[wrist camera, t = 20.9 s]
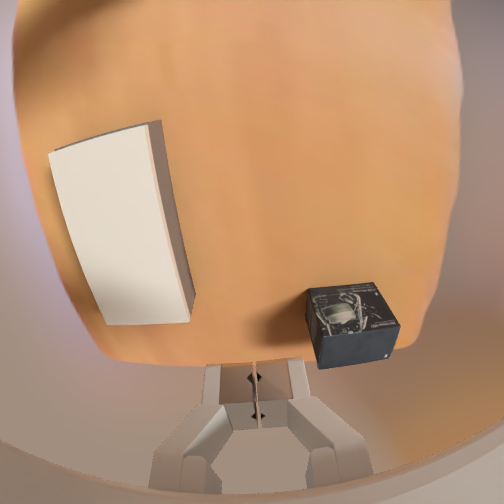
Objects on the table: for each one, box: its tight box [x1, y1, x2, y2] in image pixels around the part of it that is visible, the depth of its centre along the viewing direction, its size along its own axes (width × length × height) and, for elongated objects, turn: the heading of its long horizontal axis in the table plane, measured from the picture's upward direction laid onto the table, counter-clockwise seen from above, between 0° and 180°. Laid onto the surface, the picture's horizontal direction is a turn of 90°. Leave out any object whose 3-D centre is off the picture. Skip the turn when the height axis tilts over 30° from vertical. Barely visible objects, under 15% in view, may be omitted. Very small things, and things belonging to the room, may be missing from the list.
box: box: [306, 283, 401, 369], centre depth 38 cm, size 11×7×10 cm, turn 93°
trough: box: [55, 120, 196, 317], centre depth 33 cm, size 24×13×5 cm, turn 5°
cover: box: [48, 124, 190, 325], centre depth 30 cm, size 24×12×1 cm, turn 5°
